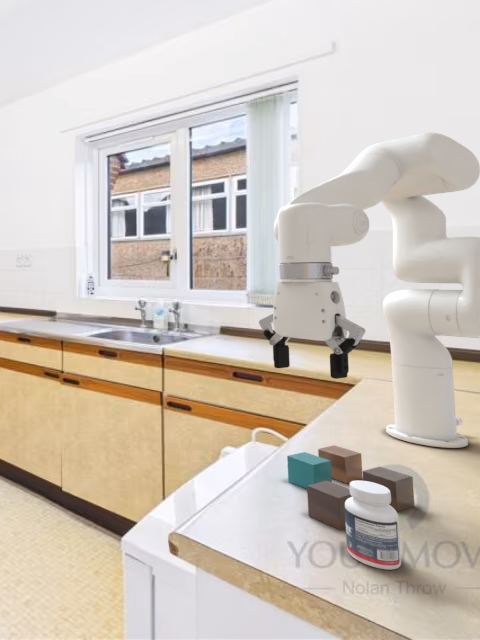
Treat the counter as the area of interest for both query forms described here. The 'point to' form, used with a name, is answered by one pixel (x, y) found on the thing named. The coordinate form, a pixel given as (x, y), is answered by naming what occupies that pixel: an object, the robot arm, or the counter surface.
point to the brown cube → (328, 503)
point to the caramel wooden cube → (343, 463)
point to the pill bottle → (372, 526)
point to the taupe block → (393, 486)
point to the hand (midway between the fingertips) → (309, 372)
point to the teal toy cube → (308, 469)
